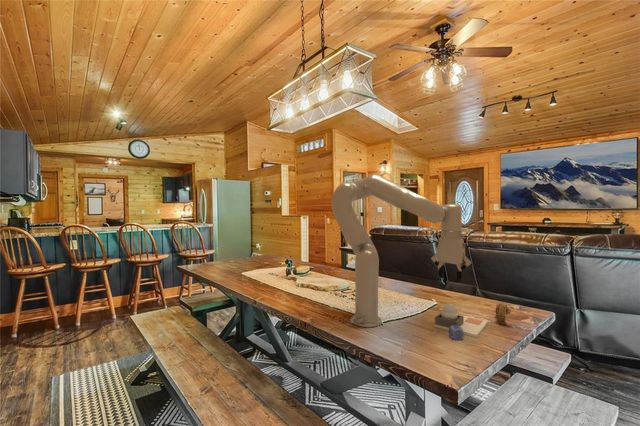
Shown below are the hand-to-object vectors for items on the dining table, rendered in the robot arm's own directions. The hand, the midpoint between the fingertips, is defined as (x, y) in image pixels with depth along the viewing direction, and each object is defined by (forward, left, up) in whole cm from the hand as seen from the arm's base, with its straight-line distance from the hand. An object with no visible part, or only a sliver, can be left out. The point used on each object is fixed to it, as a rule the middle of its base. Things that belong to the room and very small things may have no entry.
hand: (450, 278), depth 132 cm
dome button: (0, 0, -17) cm, 17 cm away
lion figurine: (+20, -15, -20) cm, 32 cm away
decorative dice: (-10, -5, -20) cm, 23 cm away
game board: (+4, -3, -20) cm, 20 cm away
